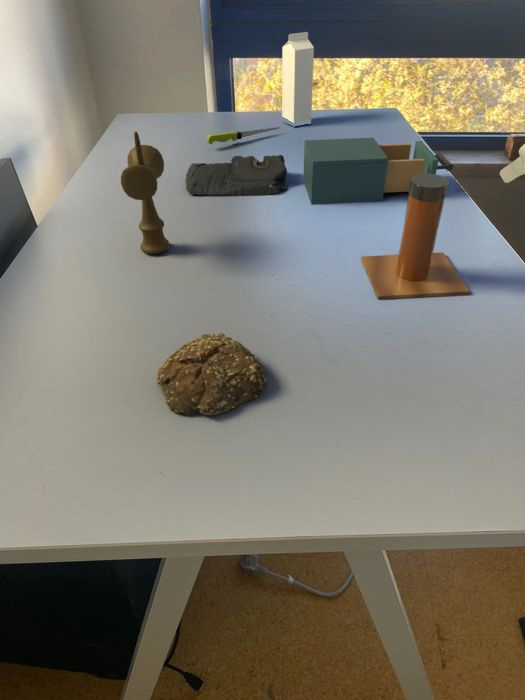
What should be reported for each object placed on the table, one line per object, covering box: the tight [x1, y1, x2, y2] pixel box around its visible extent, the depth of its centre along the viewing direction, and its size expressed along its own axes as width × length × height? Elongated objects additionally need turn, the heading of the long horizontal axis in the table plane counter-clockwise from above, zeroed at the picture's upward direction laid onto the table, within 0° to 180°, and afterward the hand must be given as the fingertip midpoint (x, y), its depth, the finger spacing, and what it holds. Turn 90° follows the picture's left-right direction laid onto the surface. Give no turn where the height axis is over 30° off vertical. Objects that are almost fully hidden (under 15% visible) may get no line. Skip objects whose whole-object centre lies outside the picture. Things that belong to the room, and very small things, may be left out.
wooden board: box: [360, 252, 471, 300], centre depth 82 cm, size 14×12×1 cm
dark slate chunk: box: [185, 154, 288, 197], centre depth 112 cm, size 15×22×5 cm
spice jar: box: [396, 174, 450, 281], centre depth 77 cm, size 5×5×15 cm
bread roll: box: [155, 333, 267, 416], centre depth 63 cm, size 13×12×5 cm
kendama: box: [120, 130, 170, 255], centre depth 84 cm, size 6×10×20 cm, turn 3°
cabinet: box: [302, 137, 388, 205], centre depth 106 cm, size 15×13×9 cm
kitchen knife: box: [206, 126, 281, 145], centre depth 134 cm, size 22×1×3 cm, turn 124°
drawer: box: [378, 140, 454, 194], centre depth 107 cm, size 18×11×7 cm, turn 94°
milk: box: [281, 31, 315, 123], centre depth 139 cm, size 6×6×22 cm
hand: (519, 166), depth 66 cm, fingers open, 8 cm apart
